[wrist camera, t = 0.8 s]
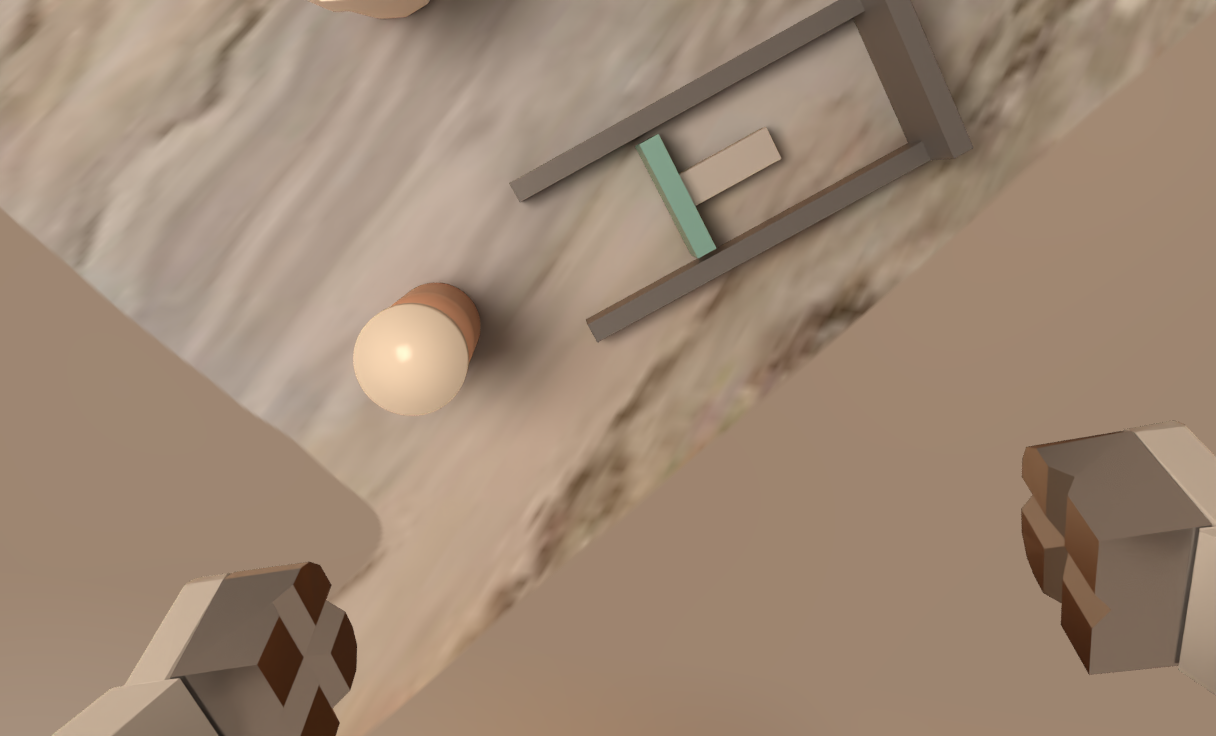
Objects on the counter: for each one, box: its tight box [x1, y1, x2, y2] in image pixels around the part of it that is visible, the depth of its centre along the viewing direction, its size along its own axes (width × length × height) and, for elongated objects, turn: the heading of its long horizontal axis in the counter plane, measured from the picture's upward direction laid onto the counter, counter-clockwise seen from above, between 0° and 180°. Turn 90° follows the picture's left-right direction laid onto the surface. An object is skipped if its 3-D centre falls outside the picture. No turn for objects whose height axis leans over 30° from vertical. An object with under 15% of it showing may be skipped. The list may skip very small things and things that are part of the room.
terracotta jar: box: [353, 283, 481, 416], centre depth 48 cm, size 5×5×11 cm
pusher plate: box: [635, 127, 781, 258], centre depth 51 cm, size 7×7×2 cm
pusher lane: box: [509, 0, 973, 342], centre depth 50 cm, size 23×10×5 cm, turn 118°
